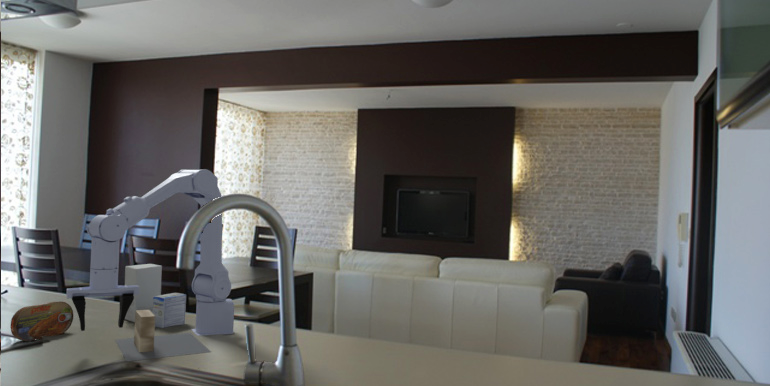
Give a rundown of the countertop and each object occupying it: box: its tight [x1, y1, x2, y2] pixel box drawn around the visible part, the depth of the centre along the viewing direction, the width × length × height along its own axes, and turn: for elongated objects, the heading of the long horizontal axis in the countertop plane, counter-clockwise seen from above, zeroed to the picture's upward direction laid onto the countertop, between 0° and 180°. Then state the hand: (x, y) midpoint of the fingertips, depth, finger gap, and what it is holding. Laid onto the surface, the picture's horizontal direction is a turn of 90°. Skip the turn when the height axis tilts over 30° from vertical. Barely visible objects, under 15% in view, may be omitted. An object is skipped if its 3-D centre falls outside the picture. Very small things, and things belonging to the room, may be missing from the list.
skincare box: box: [124, 263, 163, 323], centre depth 163 cm, size 8×7×16 cm
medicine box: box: [153, 292, 187, 329], centre depth 155 cm, size 8×4×9 cm, turn 154°
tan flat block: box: [133, 310, 156, 352], centre depth 131 cm, size 3×8×8 cm, turn 32°
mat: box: [114, 332, 212, 362], centre depth 133 cm, size 18×20×1 cm
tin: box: [10, 301, 74, 342], centre depth 139 cm, size 15×3×8 cm, turn 157°
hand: (101, 328), depth 127 cm, fingers open, 7 cm apart
